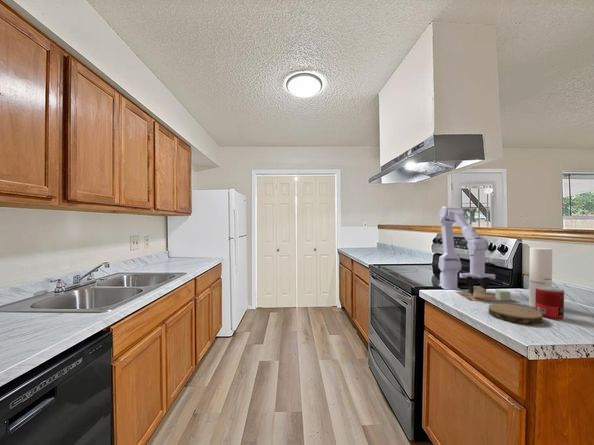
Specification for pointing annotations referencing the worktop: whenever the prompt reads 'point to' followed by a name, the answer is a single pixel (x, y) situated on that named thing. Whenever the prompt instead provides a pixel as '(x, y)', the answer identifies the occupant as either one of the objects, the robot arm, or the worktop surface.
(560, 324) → the worktop surface
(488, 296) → the brown flat board
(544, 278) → the cylindrical container
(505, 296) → the sage cube
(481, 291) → the maple brick
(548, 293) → the canned food
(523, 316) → the wood slice
